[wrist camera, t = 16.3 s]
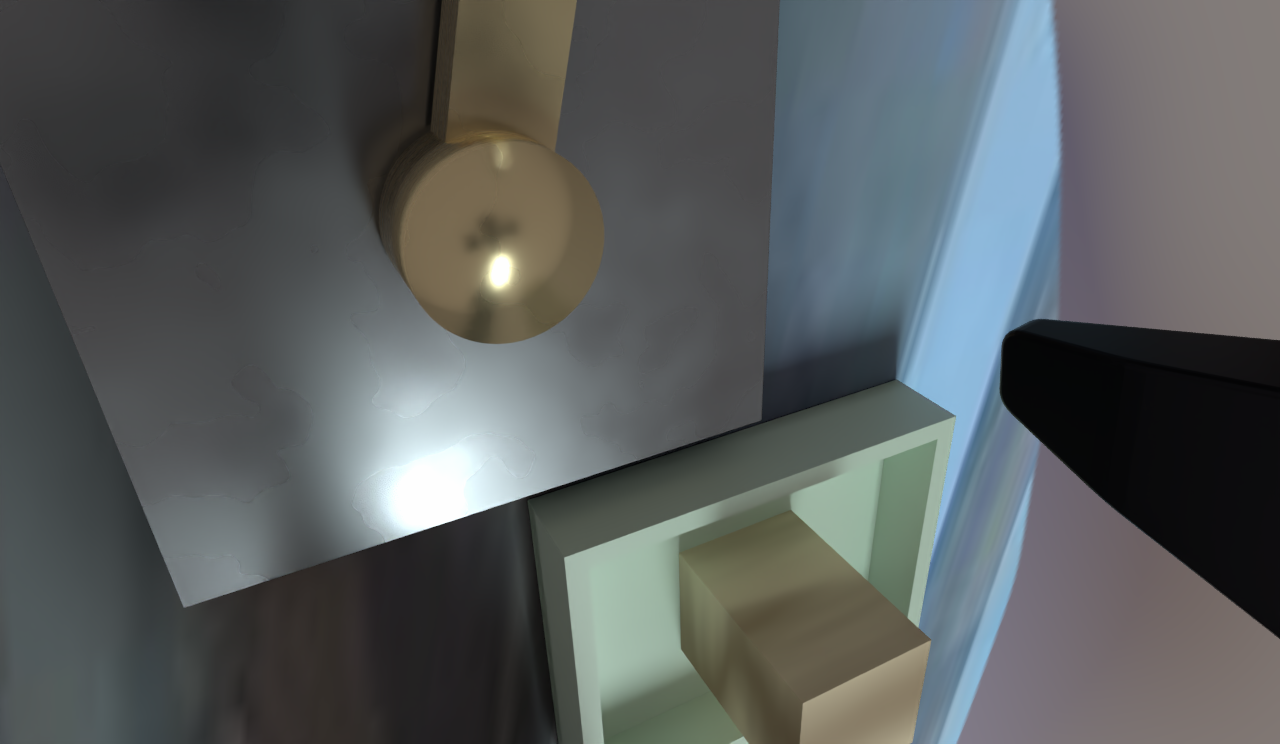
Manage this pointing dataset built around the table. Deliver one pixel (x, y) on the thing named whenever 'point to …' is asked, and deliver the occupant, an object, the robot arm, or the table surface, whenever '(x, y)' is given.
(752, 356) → the crank base
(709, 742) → the tray
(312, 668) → the table surface
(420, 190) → the crank
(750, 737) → the block
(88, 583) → the table surface
